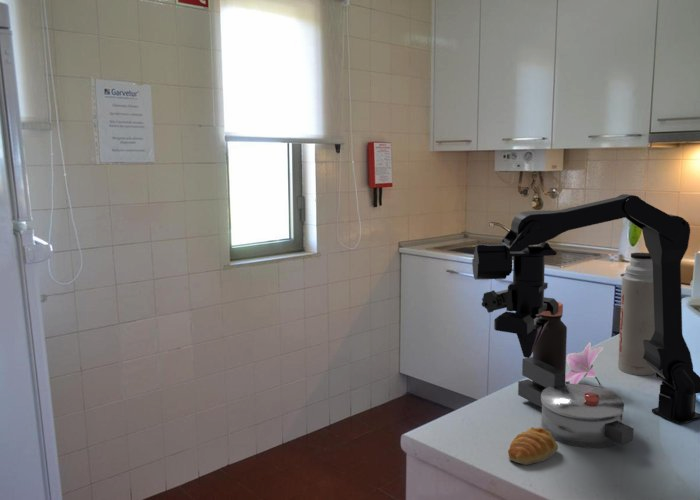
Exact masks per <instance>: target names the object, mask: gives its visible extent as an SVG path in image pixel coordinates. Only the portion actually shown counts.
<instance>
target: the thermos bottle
mask: <svg viewBox="0 0 700 500" xmlns="http://www.w3.org/2000/svg"><path fill="white" fill-rule="evenodd" d="M624 272H625V274H624V275H623V276H621V294H620V296H621V297H620V316H619V317H620V318H619V319H620V320H619V336H618V338H619V339H618V342H619V343H618V357H617V358H618V360H617V361H618V362H617V368H618V370H619V371H621V372H624V373H627V374H629V375H636V376H650V375H653V373H654V374H655V372H654V371H653V370H652V369H651V368H650V367H649V366H648V364H647V361H646V360H644V359H643V356H644V352H645V349H644V344H643V341H644V340H651V338H652V336H653V334H654V331H655V324H654V292H653V262H652V259H651V257H650V254H649V252H631V253H630V261H629V265H627V266H626V267H625V270H624Z"/></svg>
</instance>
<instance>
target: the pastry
mask: <svg viewBox="0 0 700 500" xmlns="http://www.w3.org/2000/svg"><path fill="white" fill-rule="evenodd" d="M513 438H514V439H513V440H512V441H511V443H510V446H509V449H508V452H507V453H508V459H509V460H510V461H513V462H515V463H518V464H520V465H525V466H526V465H527V466H529V465H531V464H535V463H542V462H544V461H545V460H547V459H549V458H551V457H552V456H554V454H555V453H557V451H558V449H559V445H558V444H557V442H556V440H555V439H554V438H553V437H552V434H551V433H550V432H549V431H547V430H546V429H543V428H542V427H541V426H539V427H530V428H528V429H527V430H526V431H522V432H521V433H518V434H517V436H516V437H513Z"/></svg>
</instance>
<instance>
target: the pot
mask: <svg viewBox="0 0 700 500" xmlns="http://www.w3.org/2000/svg"><path fill="white" fill-rule="evenodd" d="M517 387H518V388H517V396H519V397H521V398H523V399H525V400H527V401H528V402H531V403H532V404H534V405H536V406H537V407H538V406H539V407H541V428H543V429H546V430H547V431H549V432H550V433H551V434H552V437H553V438H554V439H555V441H557V442H560V443H563V444H565V445H570V446H572V447H573V446H574V447H579V448H586V449H588V448H589V449H599V448H607V447H611V446H614V445H617V444H618V445H619V446H620V445H621V446H623V445H626V444H631V443H632V442H634V433H635V432H634V430H635V428H634V427H631V426H629V425H628V424H625V423H623V413H622V414H621V415H620V416H618V417H616V418H613V419H608V420H599V421H590V420H579V419H574V418H569V417H565V416H562V415H559V414H557V413H554V412H552V411H550V410H549V409H547V408H546V407H545V406H544V405H543V404H542V402H541V393H542V391H543V390H544V389H546V388H545V387H543V386H541V385H539V384H537V383H535V382H533V381H532V380H530V379H529V378H527V379H524V380H520V381H519V380H518V385H517Z"/></svg>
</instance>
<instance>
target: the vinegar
mask: <svg viewBox="0 0 700 500" xmlns="http://www.w3.org/2000/svg"><path fill="white" fill-rule="evenodd" d="M557 302H558V303H559V306H558V313H557V314H555V315H551V313H550V311H543V312H542V313H540V314H539V316H541V319H545V320H548V323H547V325H546V327H545V329H544V331H543V332H542V334H541V336H540V338H539V340H538V342H537V344H536V346H535V348H534V350H533V352H532V357H534V358H536V359H538V360H540V361H542V362H544V363H546V364H549V365H551V366H553V367H555V368H557V369H559V370H561V371H563V372H565V375H567V372H566V369H567V367H566V366H567V359H566V358H567V341H568V340H567V336H568V335H567V333H568V327H567V325H565V323H564V322H563V321H562V318H563V313H564V311H563V310H564V304H563V303H562V302H559V301H557ZM533 382H534V381H533ZM535 383H536V382H535ZM537 384H538V383H537ZM539 385H540V384H539ZM541 386H542V385H541ZM543 387H544V386H543Z"/></svg>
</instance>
